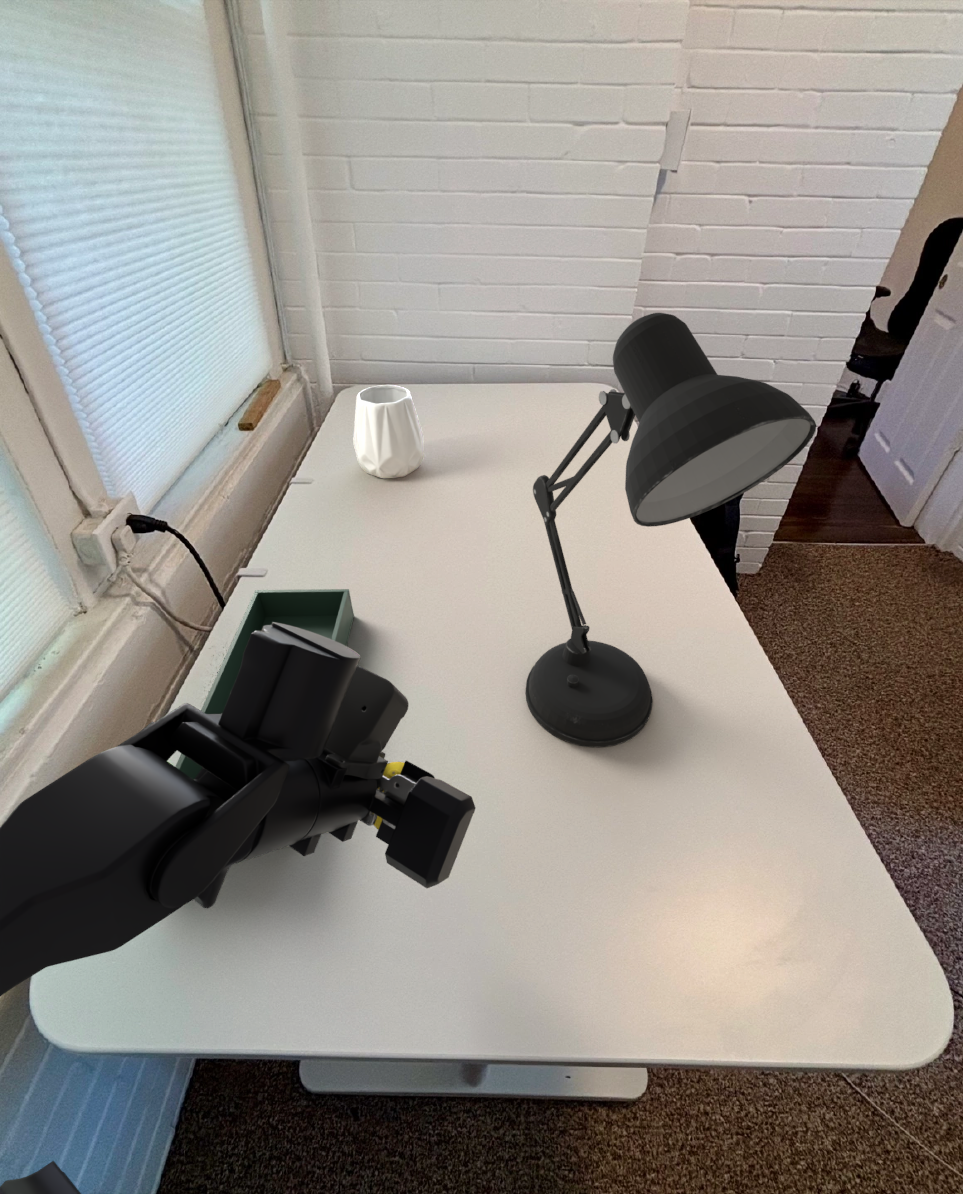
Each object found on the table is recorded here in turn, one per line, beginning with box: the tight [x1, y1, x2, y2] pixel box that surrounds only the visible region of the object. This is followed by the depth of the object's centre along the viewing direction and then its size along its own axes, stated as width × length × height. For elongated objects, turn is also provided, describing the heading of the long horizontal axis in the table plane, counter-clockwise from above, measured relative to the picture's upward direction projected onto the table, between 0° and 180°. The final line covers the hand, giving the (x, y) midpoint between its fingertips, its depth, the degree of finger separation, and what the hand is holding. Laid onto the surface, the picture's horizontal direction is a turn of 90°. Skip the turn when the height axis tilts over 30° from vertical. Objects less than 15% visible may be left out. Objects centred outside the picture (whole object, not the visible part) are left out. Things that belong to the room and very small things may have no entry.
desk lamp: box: [525, 312, 817, 748], centre depth 59 cm, size 24×26×45 cm
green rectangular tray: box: [175, 588, 355, 779], centre depth 72 cm, size 34×13×5 cm, turn 0°
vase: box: [352, 384, 425, 479], centre depth 117 cm, size 14×14×15 cm
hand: (404, 770), depth 51 cm, fingers closed on lemon, 4 cm apart
